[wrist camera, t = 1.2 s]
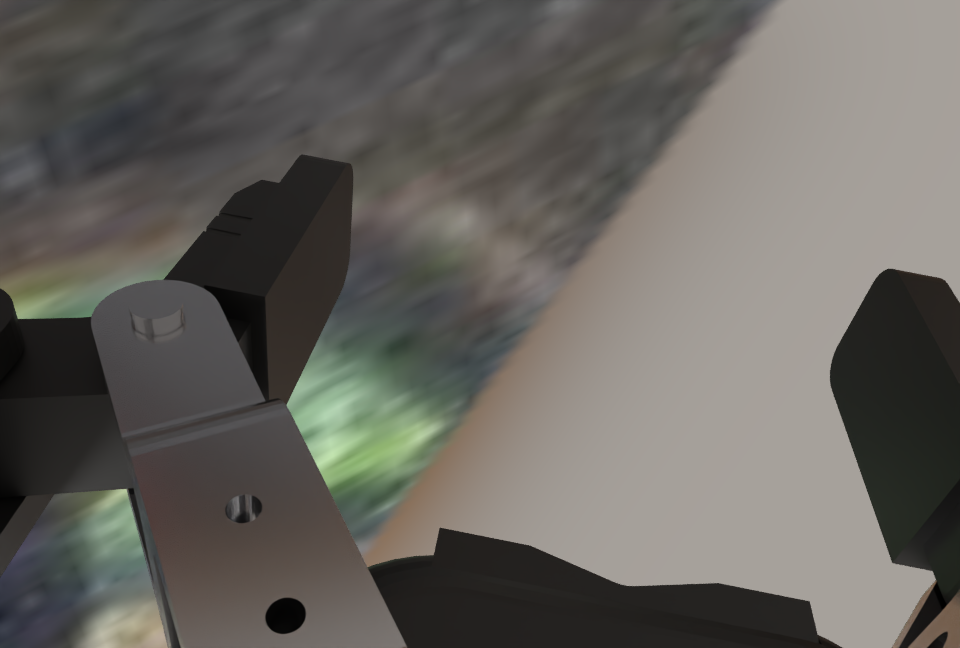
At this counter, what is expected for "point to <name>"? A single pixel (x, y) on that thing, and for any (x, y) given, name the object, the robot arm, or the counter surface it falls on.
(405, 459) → the counter surface
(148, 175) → the counter surface
